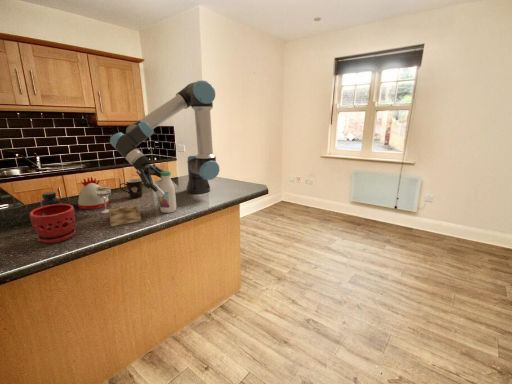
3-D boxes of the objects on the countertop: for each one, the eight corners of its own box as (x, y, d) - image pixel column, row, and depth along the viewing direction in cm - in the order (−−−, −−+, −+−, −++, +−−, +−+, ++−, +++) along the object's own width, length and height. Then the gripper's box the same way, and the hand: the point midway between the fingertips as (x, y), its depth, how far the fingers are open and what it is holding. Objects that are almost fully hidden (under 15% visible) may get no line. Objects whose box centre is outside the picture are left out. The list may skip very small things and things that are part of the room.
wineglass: (99, 209, 129) (95, 186, 125) (114, 208, 131) (111, 185, 128) (97, 214, 123) (93, 190, 119) (113, 212, 125) (109, 189, 122)
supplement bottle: (48, 222, 113) (42, 196, 109) (41, 219, 116) (35, 193, 113) (65, 217, 118) (60, 192, 115) (59, 214, 122) (54, 190, 118)
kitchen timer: (75, 204, 136) (70, 177, 132) (104, 199, 146) (100, 173, 142) (83, 210, 127) (77, 181, 123) (112, 204, 137) (108, 177, 133)
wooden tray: (137, 212, 125) (136, 206, 124) (141, 220, 116) (140, 213, 115) (109, 217, 119) (108, 210, 118) (111, 226, 110) (110, 218, 109)
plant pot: (27, 242, 94) (20, 212, 91) (64, 229, 106) (58, 201, 103) (51, 249, 90) (43, 217, 87) (86, 234, 102) (81, 205, 98)
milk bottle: (172, 207, 135) (169, 169, 129) (179, 210, 129) (176, 172, 124) (157, 210, 129) (154, 171, 124) (164, 214, 124) (161, 174, 119)
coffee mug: (146, 195, 155) (145, 179, 152) (139, 199, 146) (137, 182, 144) (128, 194, 156) (126, 178, 153) (120, 198, 147) (117, 181, 145)
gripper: (147, 161, 137) (176, 190, 139) (117, 170, 113) (151, 204, 115) (156, 152, 135) (184, 181, 137) (126, 158, 111) (161, 193, 113)
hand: (169, 191), depth 126 cm, fingers open, 13 cm apart
